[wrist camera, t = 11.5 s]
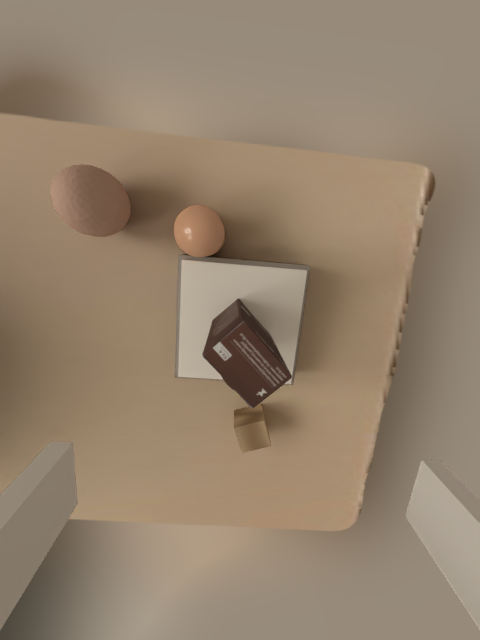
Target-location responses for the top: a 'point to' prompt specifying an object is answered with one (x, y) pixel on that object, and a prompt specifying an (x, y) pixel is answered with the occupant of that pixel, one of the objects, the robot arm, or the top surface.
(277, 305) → the podium
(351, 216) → the top surface
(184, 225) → the tan round piece
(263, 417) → the oak block
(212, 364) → the box
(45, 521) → the robot arm
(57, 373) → the top surface
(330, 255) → the top surface
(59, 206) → the egg
